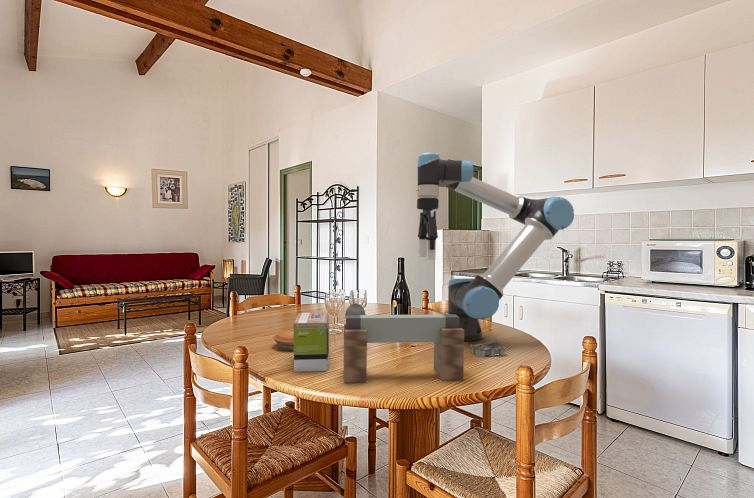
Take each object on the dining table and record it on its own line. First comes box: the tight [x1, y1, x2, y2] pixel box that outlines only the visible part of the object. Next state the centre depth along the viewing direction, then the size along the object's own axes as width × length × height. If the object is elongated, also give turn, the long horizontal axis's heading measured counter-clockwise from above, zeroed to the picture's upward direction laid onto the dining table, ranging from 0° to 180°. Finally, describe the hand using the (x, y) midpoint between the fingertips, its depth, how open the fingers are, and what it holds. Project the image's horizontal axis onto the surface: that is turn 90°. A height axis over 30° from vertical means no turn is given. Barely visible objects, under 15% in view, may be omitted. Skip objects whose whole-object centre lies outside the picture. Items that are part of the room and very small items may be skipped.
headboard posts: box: [343, 322, 465, 384], centre depth 118 cm, size 33×10×14 cm, turn 96°
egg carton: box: [470, 339, 507, 358], centre depth 140 cm, size 11×8×4 cm
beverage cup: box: [344, 290, 367, 317], centre depth 145 cm, size 7×7×20 cm
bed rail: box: [345, 313, 459, 344], centre depth 118 cm, size 32×4×7 cm, turn 96°
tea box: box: [292, 311, 330, 373], centre depth 127 cm, size 15×10×15 cm, turn 5°
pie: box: [272, 329, 294, 352], centre depth 147 cm, size 15×16×5 cm
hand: (426, 258), depth 146 cm, fingers open, 13 cm apart
